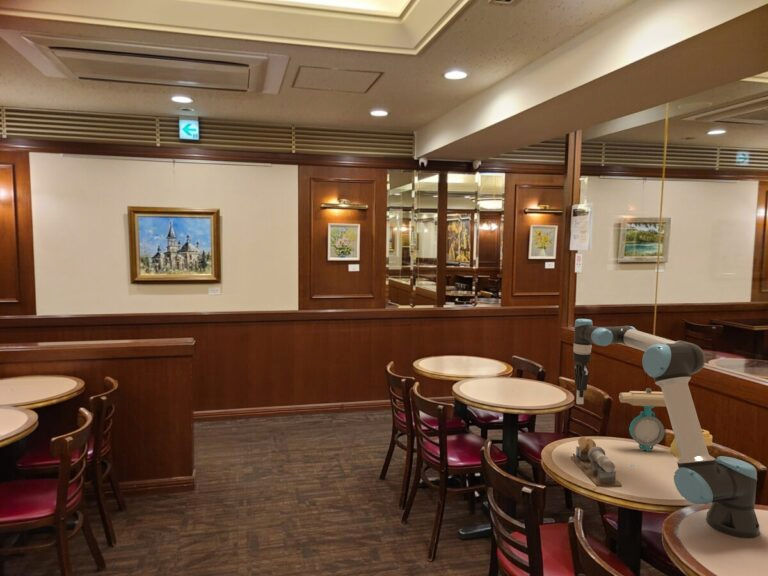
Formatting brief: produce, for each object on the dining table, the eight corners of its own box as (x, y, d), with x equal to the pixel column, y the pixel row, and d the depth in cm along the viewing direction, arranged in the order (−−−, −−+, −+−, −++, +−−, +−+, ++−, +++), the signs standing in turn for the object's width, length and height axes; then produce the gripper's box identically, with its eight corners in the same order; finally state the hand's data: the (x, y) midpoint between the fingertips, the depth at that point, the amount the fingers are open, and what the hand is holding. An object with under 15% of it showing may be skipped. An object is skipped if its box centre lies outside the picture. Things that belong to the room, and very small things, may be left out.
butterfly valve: (671, 448, 249) (674, 387, 246) (677, 454, 242) (681, 391, 239) (613, 445, 251) (616, 385, 249) (618, 451, 244) (621, 389, 242)
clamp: (714, 471, 224) (717, 435, 223) (692, 470, 225) (695, 434, 223) (690, 453, 244) (692, 419, 243) (670, 452, 244) (672, 419, 243)
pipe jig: (621, 487, 207) (623, 459, 206) (596, 487, 207) (598, 459, 206) (591, 458, 236) (593, 433, 235) (570, 457, 236) (571, 433, 235)
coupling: (595, 461, 229) (596, 438, 228) (579, 461, 229) (580, 438, 228) (590, 455, 235) (591, 434, 234) (574, 455, 235) (575, 434, 234)
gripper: (596, 356, 230) (593, 408, 232) (584, 350, 243) (582, 399, 245) (579, 355, 230) (577, 407, 232) (568, 349, 243) (566, 399, 245)
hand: (579, 403), depth 238 cm, fingers closed
